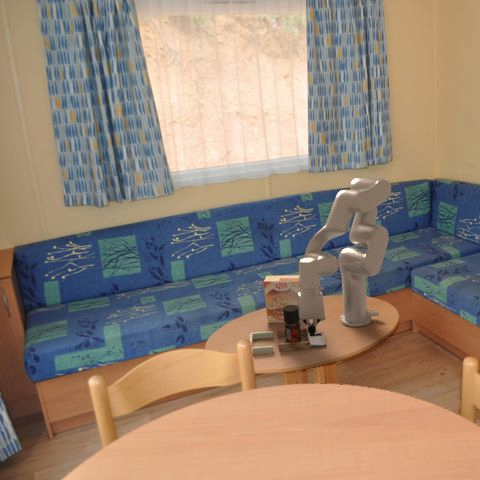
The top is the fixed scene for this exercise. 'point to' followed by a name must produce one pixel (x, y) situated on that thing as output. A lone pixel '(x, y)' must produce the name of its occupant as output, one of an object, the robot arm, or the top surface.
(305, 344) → the channel
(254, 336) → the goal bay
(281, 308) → the coffeecake box
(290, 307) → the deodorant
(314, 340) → the tray
